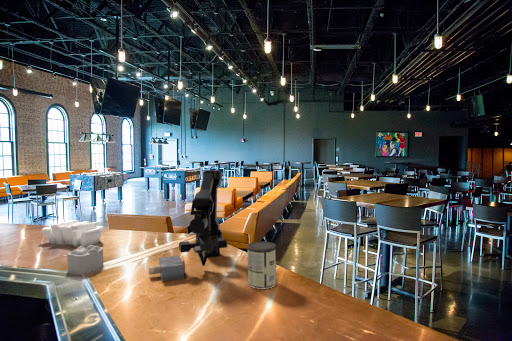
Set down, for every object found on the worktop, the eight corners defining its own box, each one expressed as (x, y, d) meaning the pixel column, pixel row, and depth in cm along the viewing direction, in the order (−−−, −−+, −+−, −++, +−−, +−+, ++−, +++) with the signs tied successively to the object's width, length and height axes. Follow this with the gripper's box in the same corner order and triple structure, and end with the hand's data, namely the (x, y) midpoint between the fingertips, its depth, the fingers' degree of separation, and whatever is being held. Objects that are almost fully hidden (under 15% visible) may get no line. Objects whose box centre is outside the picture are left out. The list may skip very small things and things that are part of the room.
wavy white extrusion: (111, 242, 169) (111, 222, 169) (83, 250, 154) (83, 229, 154) (67, 236, 183) (66, 218, 183) (38, 243, 168) (37, 223, 168)
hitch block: (179, 267, 130) (179, 255, 129) (183, 278, 119) (183, 264, 118) (158, 270, 127) (158, 257, 126) (161, 281, 116) (161, 267, 115)
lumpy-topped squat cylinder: (64, 271, 127) (63, 250, 126) (92, 261, 138) (92, 242, 138) (81, 275, 122) (81, 253, 122) (109, 264, 134) (109, 244, 134)
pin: (183, 269, 127) (182, 258, 126) (185, 273, 122) (184, 262, 122) (149, 274, 122) (148, 262, 122) (149, 278, 117) (149, 266, 117)
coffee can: (253, 277, 120) (252, 240, 119) (279, 280, 116) (279, 242, 116) (243, 287, 110) (242, 247, 109) (271, 291, 107) (271, 250, 106)
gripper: (182, 234, 116) (183, 276, 116) (231, 229, 123) (231, 269, 123) (178, 227, 126) (178, 266, 127) (223, 223, 133) (223, 260, 134)
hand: (203, 265), depth 127 cm, fingers closed
